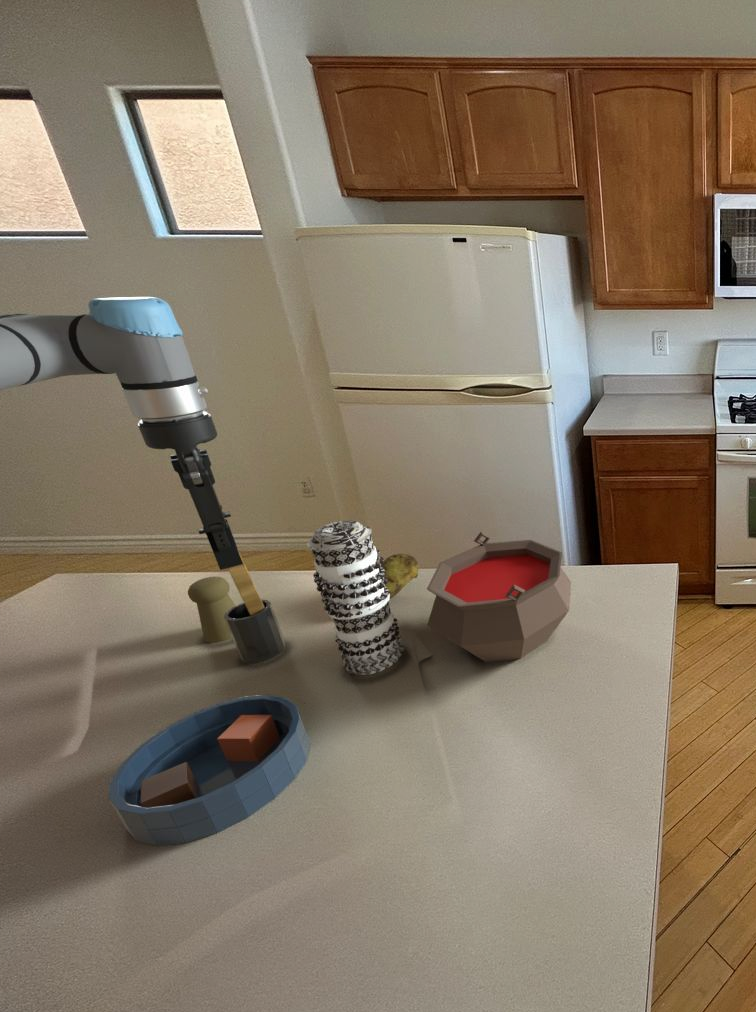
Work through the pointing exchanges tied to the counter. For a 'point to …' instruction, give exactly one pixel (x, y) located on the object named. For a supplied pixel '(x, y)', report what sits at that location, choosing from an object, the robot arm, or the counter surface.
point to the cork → (212, 607)
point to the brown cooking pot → (500, 598)
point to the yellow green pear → (399, 571)
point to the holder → (255, 633)
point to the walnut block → (169, 787)
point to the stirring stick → (246, 588)
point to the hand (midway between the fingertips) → (230, 562)
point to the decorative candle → (356, 596)
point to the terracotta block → (249, 738)
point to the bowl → (209, 772)
